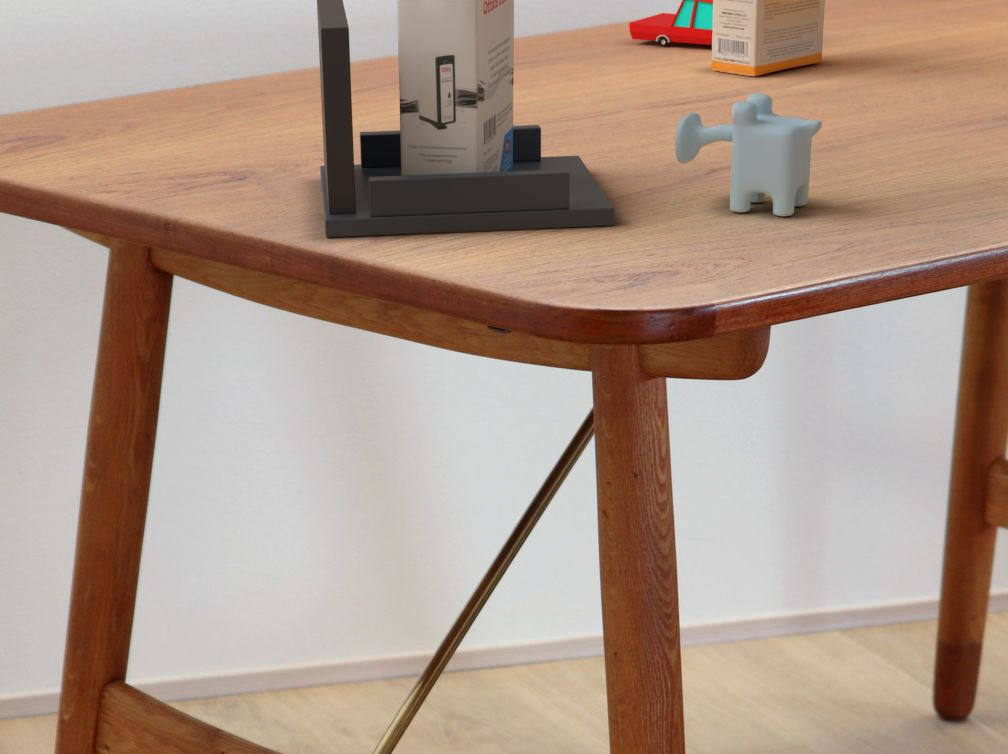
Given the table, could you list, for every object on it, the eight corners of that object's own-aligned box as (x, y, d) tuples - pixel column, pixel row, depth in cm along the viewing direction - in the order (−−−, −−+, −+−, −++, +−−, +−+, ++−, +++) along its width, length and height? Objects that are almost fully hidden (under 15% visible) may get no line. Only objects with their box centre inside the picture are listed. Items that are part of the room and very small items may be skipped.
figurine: (693, 193, 113) (697, 87, 111) (826, 204, 110) (833, 95, 107) (668, 208, 110) (672, 99, 107) (805, 220, 106) (811, 108, 104)
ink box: (438, 168, 117) (433, -36, 112) (518, 170, 115) (517, -35, 110) (397, 200, 109) (390, -16, 104) (482, 204, 108) (479, -15, 103)
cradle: (614, 225, 107) (618, 20, 102) (325, 237, 106) (316, 31, 101) (578, 171, 119) (580, -14, 115) (320, 181, 119) (312, -4, 114)
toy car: (663, 33, 168) (664, -15, 166) (791, 42, 162) (794, -8, 160) (627, 44, 163) (628, -6, 162) (758, 54, 157) (760, 2, 155)
